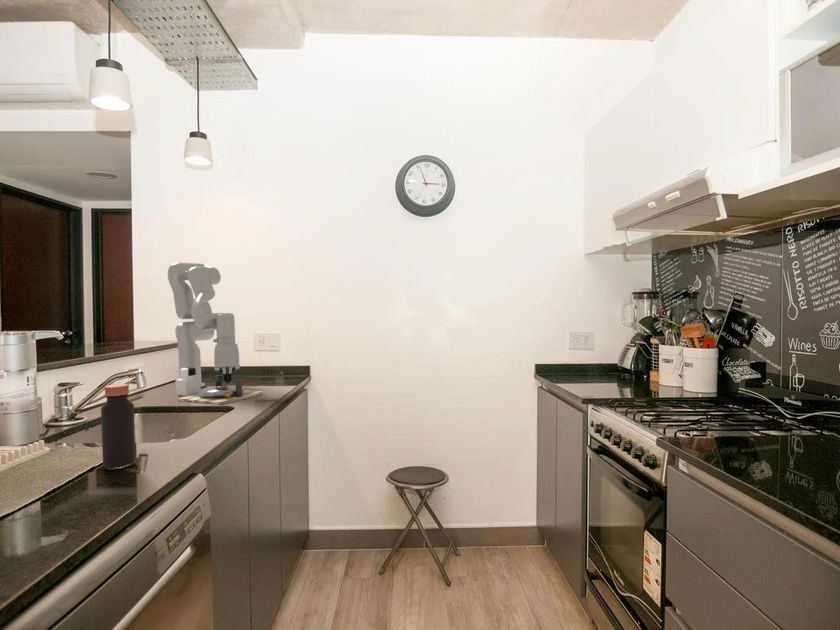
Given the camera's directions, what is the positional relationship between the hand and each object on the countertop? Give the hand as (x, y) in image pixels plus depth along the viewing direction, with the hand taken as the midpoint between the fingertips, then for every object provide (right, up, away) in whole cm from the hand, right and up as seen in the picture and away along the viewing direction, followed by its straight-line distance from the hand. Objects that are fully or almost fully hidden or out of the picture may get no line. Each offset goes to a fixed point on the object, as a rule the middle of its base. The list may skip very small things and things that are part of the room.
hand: (227, 382), depth 208 cm
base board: (0, -5, -7) cm, 9 cm away
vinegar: (+11, -8, -92) cm, 93 cm away
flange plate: (+1, -3, -8) cm, 9 cm away
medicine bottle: (-17, -6, 0) cm, 18 cm away
